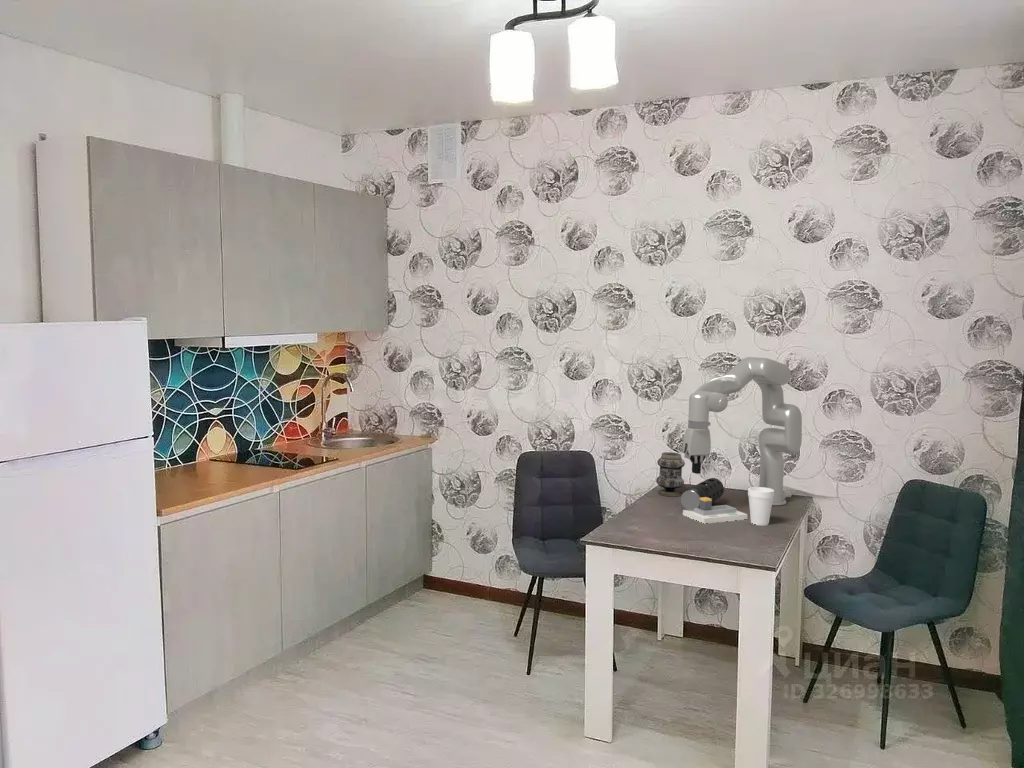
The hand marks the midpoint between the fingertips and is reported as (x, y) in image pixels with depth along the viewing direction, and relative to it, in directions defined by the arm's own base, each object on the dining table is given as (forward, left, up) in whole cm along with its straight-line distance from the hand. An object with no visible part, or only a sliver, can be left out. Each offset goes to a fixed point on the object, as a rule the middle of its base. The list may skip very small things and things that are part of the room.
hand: (696, 473), depth 306 cm
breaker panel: (-9, 0, -18) cm, 20 cm away
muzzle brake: (-13, -13, -18) cm, 26 cm away
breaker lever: (-5, 0, -16) cm, 17 cm away
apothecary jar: (-16, -41, -18) cm, 47 cm away
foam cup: (-20, +13, -18) cm, 30 cm away
